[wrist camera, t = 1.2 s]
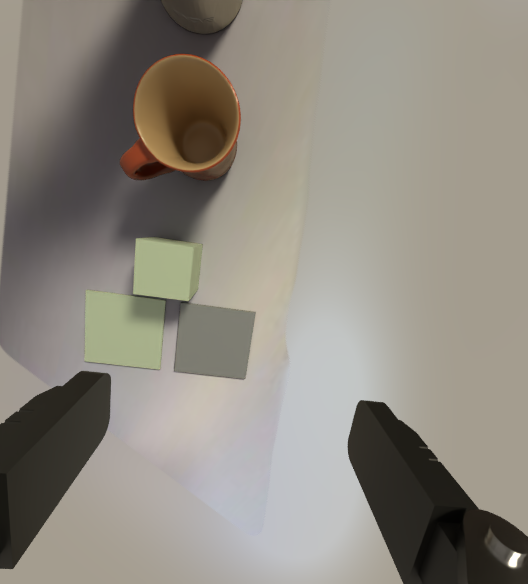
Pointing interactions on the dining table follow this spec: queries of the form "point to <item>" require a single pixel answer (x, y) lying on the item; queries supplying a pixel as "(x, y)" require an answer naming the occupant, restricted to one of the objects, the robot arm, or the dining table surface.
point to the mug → (183, 120)
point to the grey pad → (213, 340)
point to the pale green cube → (166, 268)
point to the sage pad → (123, 329)
